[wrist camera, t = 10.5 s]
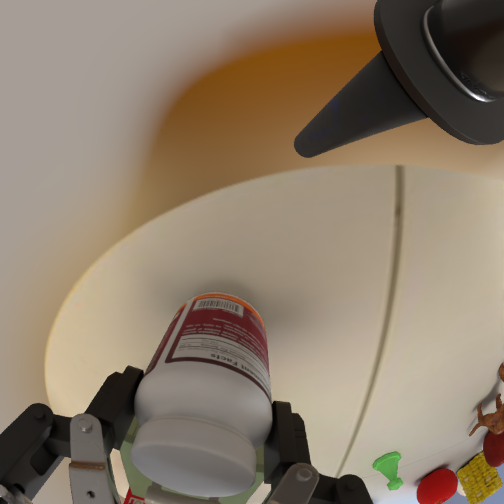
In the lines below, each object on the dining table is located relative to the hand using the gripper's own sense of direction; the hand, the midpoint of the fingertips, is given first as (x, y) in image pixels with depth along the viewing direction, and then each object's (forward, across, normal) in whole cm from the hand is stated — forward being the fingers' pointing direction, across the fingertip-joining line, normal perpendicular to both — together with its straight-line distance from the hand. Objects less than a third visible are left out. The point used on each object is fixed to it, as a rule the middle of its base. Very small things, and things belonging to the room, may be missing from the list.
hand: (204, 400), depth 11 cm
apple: (+9, -59, +20) cm, 63 cm away
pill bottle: (+7, 0, 0) cm, 7 cm away
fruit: (+9, -48, +32) cm, 59 cm away
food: (+9, -66, +34) cm, 75 cm away
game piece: (+9, -27, +20) cm, 35 cm away
